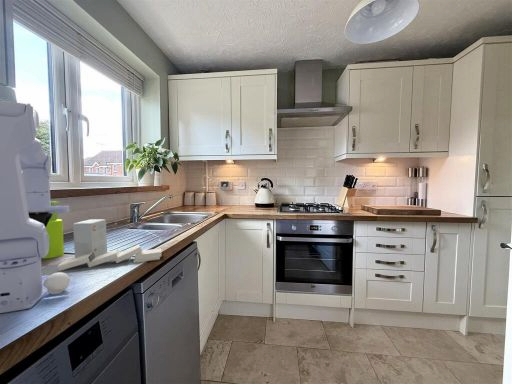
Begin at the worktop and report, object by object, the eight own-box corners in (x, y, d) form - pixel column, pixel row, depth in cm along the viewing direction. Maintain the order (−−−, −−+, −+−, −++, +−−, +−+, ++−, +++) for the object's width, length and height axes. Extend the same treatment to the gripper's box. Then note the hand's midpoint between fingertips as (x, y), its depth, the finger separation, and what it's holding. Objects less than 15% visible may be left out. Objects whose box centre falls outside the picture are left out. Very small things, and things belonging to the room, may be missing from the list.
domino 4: (135, 260, 77) (161, 256, 80) (135, 255, 77) (161, 251, 80) (136, 255, 81) (161, 252, 84) (136, 251, 81) (160, 248, 84)
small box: (91, 253, 87) (89, 219, 86) (107, 253, 87) (106, 219, 86) (74, 260, 79) (72, 223, 78) (92, 260, 79) (90, 223, 78)
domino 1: (59, 271, 69) (91, 261, 72) (57, 266, 69) (89, 256, 72) (65, 265, 73) (95, 256, 76) (63, 261, 73) (93, 252, 76)
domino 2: (89, 267, 72) (117, 257, 75) (87, 263, 71) (116, 253, 74) (92, 262, 76) (119, 253, 79) (90, 258, 76) (117, 249, 79)
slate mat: (127, 266, 74) (127, 265, 74) (30, 278, 65) (30, 276, 65) (131, 257, 82) (131, 256, 82) (46, 267, 73) (46, 265, 73)
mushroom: (39, 294, 55) (39, 274, 55) (64, 286, 59) (64, 267, 59) (49, 300, 53) (49, 278, 53) (73, 291, 57) (73, 272, 57)
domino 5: (133, 265, 76) (159, 261, 79) (133, 260, 76) (159, 257, 79) (135, 260, 81) (159, 257, 84) (134, 256, 80) (159, 253, 84)
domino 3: (116, 263, 75) (142, 251, 79) (114, 259, 74) (140, 246, 78) (116, 260, 79) (140, 248, 83) (114, 255, 78) (138, 244, 82)
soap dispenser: (68, 252, 88) (66, 200, 87) (59, 258, 82) (56, 201, 81) (49, 253, 86) (46, 200, 85) (38, 260, 80) (35, 202, 79)
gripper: (72, 191, 74) (74, 232, 75) (13, 192, 69) (15, 237, 70) (63, 192, 68) (65, 238, 68) (-3, 193, 62) (0, 242, 63)
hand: (39, 237), depth 69 cm, fingers closed
